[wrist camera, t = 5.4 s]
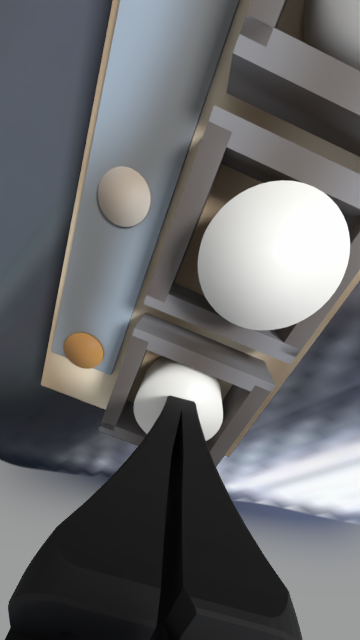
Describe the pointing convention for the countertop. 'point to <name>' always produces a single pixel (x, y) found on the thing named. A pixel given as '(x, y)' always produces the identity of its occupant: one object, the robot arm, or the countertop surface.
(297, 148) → the button board
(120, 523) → the robot arm
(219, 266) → the middle button
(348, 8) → the button
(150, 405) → the button
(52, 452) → the countertop surface
